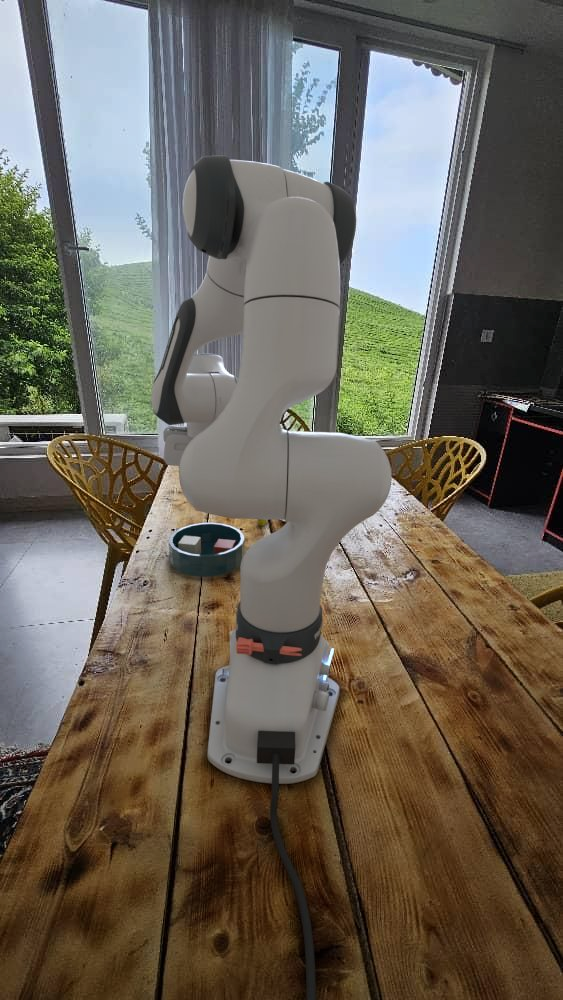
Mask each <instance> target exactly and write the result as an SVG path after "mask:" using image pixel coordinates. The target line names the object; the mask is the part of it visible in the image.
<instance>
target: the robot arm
mask: <svg viewBox="0 0 563 1000" xmlns="http://www.w3.org/2000/svg"><path fill="white" fill-rule="evenodd" d="M356 211H357V210H356V207H355V203H354V200H353V197H352V195H350V193H349V192H348V191H346V190H345V189H343V188H341V187H340V186H338V185H336V184H334V183H332V182H330V181H323V182H322V181H319V180H316V179H314V178H312V177H309V176H307V175H304V174H301V173H298V172H295V171H292V170H288V169H284V168H283V167H281V166H279V165H274V164H270V163H265V162H264V163H263V162H258V161H253V160H252V161H250V160H240V159H230V158H229V156H228V155H205V156H201V157H200V158H199V159H198V160H197V161H196V162H195V163H194V164H193V165H192V167H191V170H190V174H189V177H188V178H187V180H186V183H185V187H184V190H183V195H182V214H183V220H184V223H185V227H186V231H187V235H188V239H189V240H190V242H191V243H192V245H193V246H194V247H195V249H196V250H198V251H199V252H200V253H203V254H205V255H207V256H208V258H207V259H208V260H207V264H206V265H207V267H206V272H205V274H204V275H205V276H204V278H203V280H202V282H201V284H200V286H199V287H198V289H197V290H196V291H195V292H194V293H193V295H191V296H190V297H189V298H187V299H186V300H183V301H182V302H181V304H180V306H179V308H178V310H177V312H176V315H175V318H174V321H173V324H172V327H171V330H170V333H169V337H168V340H167V341H168V342H167V344H166V347H165V351H164V354H163V357H162V361H161V364H160V367H159V369H158V372H157V375H156V376H155V378H154V380H153V382H152V383H153V384H152V387H151V391H150V393H151V394H150V400H151V407H152V410H153V414H154V415H155V416H156V417H157V418H158V419H159V420H161V421H162V422H164V423H165V424H167V425H168V427H166V428H164V430H163V433H162V435H163V441H164V449H163V461H164V463H165V464H166V465H167V466H173V467H178V479H179V484H180V488H181V491H182V493H183V495H184V498H185V500H187V502H188V504H189V505H190V506H191V507H192V508H193V509H194V510H195V511H197V512H201V513H204V514H209V515H213V516H216V517H217V516H218V517H221V518H227V519H232V520H233V519H239V520H258V519H267V520H276V521H285V522H286V523H285V524H284V525H283V526H282V527H280V528H279V529H278V530H276V531H274V532H271V533H270V534H267V535H265V536H262V537H260V538H259V539H257V540H256V541H255V542H254V543H252V545H250V546H249V548H248V549H247V550H246V551H245V552H244V556H243V558H242V561H241V565H240V566H239V568H240V569H239V570H240V574H239V575H240V579H239V582H240V583H239V585H240V586H239V588H240V591H239V597H240V598H239V599H240V600H239V602H238V604H237V610H236V613H235V628H233V629H232V630H231V631H230V632H229V662H228V663H229V664H228V665H225V666H223V667H221V668H219V669H217V671H216V672H215V677H214V686H213V695H212V705H211V714H210V723H209V733H208V742H207V743H208V745H207V755H206V756H207V757H206V758H207V760H208V762H209V763H210V764H212V766H214V767H215V768H217V769H218V770H220V771H221V772H223V773H225V774H227V775H229V776H232V777H235V778H238V779H242V780H244V781H245V780H246V781H251V782H256V783H261V784H262V783H263V784H269V785H270V784H271V793H270V794H271V795H270V806H269V807H270V808H269V821H270V827H271V833H272V838H273V841H274V843H275V846H276V849H277V851H278V854H279V857H280V860H281V862H282V864H283V867H284V869H285V871H286V873H287V876H288V877H289V878H288V879H289V880H290V882H291V885H292V887H293V890H294V893H295V896H296V901H297V904H298V908H299V914H300V921H301V925H302V926H301V927H302V934H303V943H304V955H305V991H306V993H305V994H306V996H305V997H306V998H305V1000H317V986H316V961H315V946H314V938H313V929H312V923H311V916H310V912H309V911H310V910H309V907H308V902H307V899H306V895H305V891H304V888H303V885H302V882H301V880H300V877H299V875H298V873H297V871H296V868H295V866H294V864H293V862H292V860H291V858H290V856H289V853H288V852H287V849H286V847H285V844H284V841H283V837H282V836H281V831H280V828H279V827H280V825H279V820H278V806H279V794H280V793H279V792H280V788H279V787H280V785H288V784H289V785H290V784H297V783H301V782H305V781H309V780H310V779H312V778H314V777H316V776H317V774H318V772H319V768H320V766H321V762H322V759H323V754H324V751H325V747H326V744H327V740H328V736H329V733H330V729H331V726H332V723H333V719H334V715H335V711H336V708H337V705H338V702H339V697H340V686H339V685H338V683H337V682H335V681H334V680H333V679H331V678H329V676H330V672H331V662H332V658H333V655H334V650H335V648H331V644H330V643H329V641H327V639H326V638H325V637H324V636H323V634H322V629H323V624H324V623H323V622H324V618H323V607H322V605H321V598H322V590H323V585H324V579H325V573H326V568H327V565H328V563H329V560H330V559H331V556H332V554H333V552H334V551H335V549H336V548H337V546H338V545H339V543H341V541H342V540H343V539H344V538H345V537H346V536H347V534H349V533H350V532H351V531H352V530H353V529H354V528H355V527H357V526H359V525H360V524H361V523H362V522H364V521H365V520H367V519H369V518H371V517H373V516H374V515H375V514H377V513H378V512H379V511H380V509H382V507H383V505H384V504H385V503H386V500H387V499H388V498H389V494H390V492H391V488H392V481H393V480H392V478H393V476H392V475H393V474H392V473H393V472H392V467H391V463H390V460H389V457H388V456H387V454H386V452H385V449H383V447H382V446H381V444H379V443H378V442H377V441H376V440H373V439H369V438H365V437H361V436H358V435H352V434H348V433H343V432H332V431H331V432H329V431H301V430H288V429H284V428H283V427H281V420H282V418H283V415H284V414H285V412H286V411H288V410H289V409H290V408H292V407H294V406H296V405H299V404H302V403H303V402H305V401H308V400H309V399H312V398H313V397H315V396H317V395H318V394H320V393H323V391H325V390H326V389H327V388H328V387H329V386H330V385H331V383H332V382H333V380H334V378H335V375H336V372H337V367H338V364H337V363H338V346H339V330H340V329H339V327H340V311H341V310H340V309H341V307H340V306H341V270H340V268H341V267H342V265H343V264H344V262H345V261H346V260H347V258H348V257H349V255H350V253H351V250H352V248H353V245H354V241H355V236H356V230H357V212H356ZM238 335H242V342H241V355H240V362H239V363H240V364H239V371H238V375H237V376H235V375H234V374H231V373H230V372H229V371H227V369H226V368H225V363H224V358H223V356H221V355H220V354H218V353H217V354H216V353H210V352H209V353H205V352H203V353H202V352H201V353H196V352H197V351H199V350H200V349H201V348H202V347H204V346H206V345H208V344H211V343H213V342H216V341H219V340H222V339H225V338H230V337H234V336H238ZM182 424H186V426H185V425H182ZM330 648H331V649H330ZM228 762H230V763H228ZM293 772H295V773H293Z"/></svg>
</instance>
